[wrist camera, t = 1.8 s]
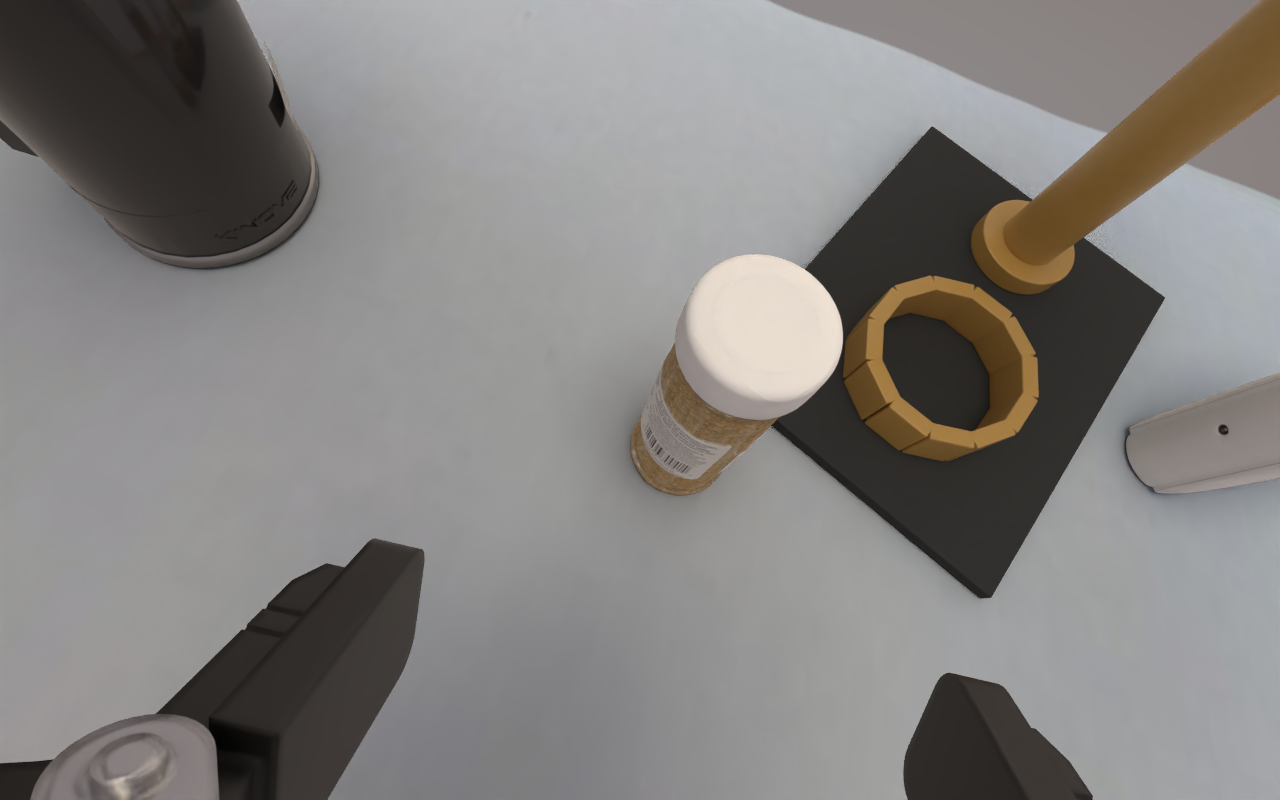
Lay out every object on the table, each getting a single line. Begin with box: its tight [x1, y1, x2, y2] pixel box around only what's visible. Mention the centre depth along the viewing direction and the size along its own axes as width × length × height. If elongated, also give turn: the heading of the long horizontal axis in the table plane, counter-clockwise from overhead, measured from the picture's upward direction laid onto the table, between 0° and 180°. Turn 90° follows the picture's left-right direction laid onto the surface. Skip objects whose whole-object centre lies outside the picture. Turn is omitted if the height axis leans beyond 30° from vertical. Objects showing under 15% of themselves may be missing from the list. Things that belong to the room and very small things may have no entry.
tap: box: [843, 0, 1280, 461], centre depth 21 cm, size 10×17×27 cm, turn 140°
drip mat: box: [772, 127, 1165, 598], centre depth 34 cm, size 16×21×1 cm
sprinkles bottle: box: [631, 254, 843, 495], centre depth 24 cm, size 5×5×13 cm
